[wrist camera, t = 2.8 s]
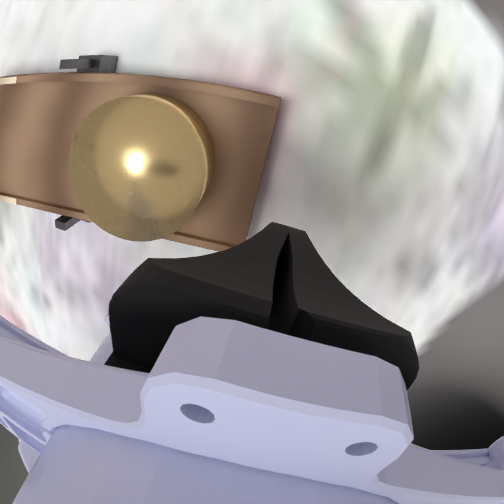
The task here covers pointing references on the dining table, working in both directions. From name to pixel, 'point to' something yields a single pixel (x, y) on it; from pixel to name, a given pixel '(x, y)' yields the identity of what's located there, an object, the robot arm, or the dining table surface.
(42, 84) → the beam
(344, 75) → the dining table surface
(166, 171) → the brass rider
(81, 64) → the beam stand
